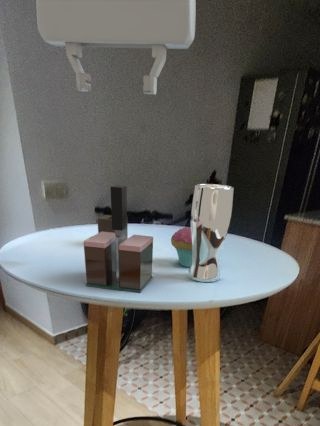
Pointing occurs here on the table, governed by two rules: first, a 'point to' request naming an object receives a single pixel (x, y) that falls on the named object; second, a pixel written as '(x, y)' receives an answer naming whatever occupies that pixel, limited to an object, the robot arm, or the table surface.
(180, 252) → the cupcake
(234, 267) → the table surface
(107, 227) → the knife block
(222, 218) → the beer glass
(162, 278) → the table surface
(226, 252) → the table surface
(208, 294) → the table surface
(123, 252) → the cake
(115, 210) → the knife
